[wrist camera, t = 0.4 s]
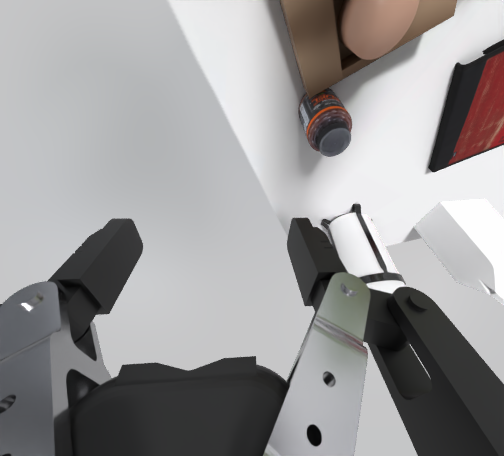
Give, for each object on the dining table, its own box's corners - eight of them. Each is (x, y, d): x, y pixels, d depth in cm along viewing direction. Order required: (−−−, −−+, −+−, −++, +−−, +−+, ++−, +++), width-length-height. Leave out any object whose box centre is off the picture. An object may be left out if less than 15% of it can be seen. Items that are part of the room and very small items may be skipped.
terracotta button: (333, -3, 20) (347, 2, 18) (398, -52, 18) (425, -54, 15) (341, 60, 25) (353, 72, 22) (395, 27, 22) (415, 36, 20)
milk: (413, 226, 61) (470, 312, 46) (439, 202, 52) (521, 299, 37) (451, 224, 61) (521, 310, 46) (485, 198, 51) (587, 296, 36)
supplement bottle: (336, 78, 28) (365, 112, 22) (333, 118, 33) (357, 156, 26) (295, 92, 29) (311, 128, 23) (299, 128, 34) (313, 167, 28)
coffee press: (312, 235, 63) (339, 338, 46) (332, 201, 50) (381, 328, 33) (361, 235, 65) (405, 336, 47) (393, 203, 52) (470, 325, 34)
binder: (433, 173, 41) (464, 66, 26) (426, 167, 43) (452, 62, 28) (535, 136, 36) (650, -28, 21) (524, 130, 37) (623, -27, 22)
